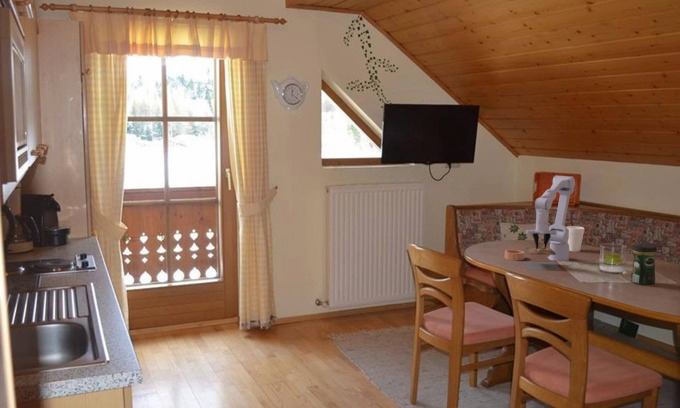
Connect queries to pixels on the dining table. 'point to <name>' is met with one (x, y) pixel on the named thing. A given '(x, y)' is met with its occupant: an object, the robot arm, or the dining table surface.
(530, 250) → the square tan board
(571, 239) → the foam cup
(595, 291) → the dining table surface
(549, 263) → the mat
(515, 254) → the bowl
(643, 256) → the coffee jar
